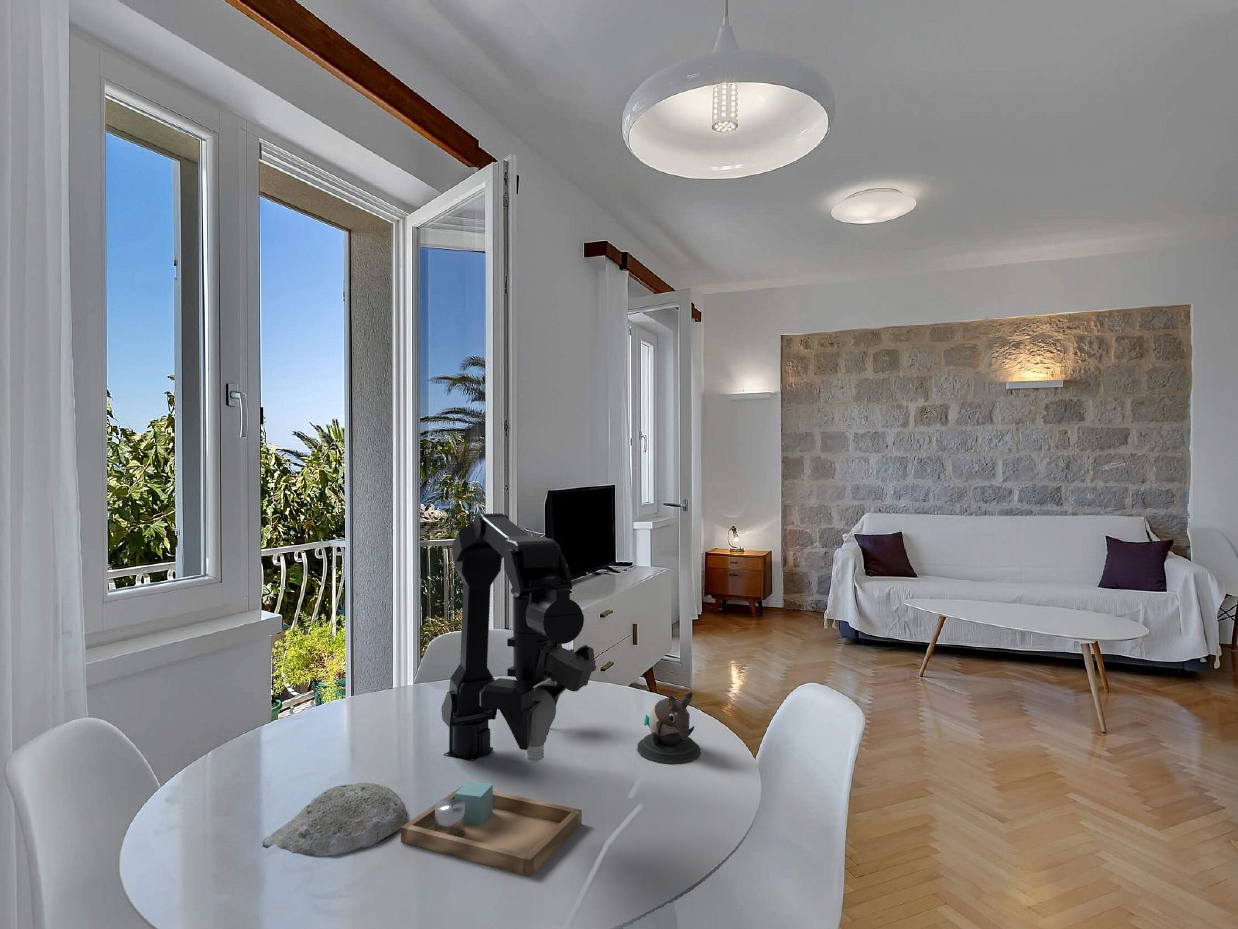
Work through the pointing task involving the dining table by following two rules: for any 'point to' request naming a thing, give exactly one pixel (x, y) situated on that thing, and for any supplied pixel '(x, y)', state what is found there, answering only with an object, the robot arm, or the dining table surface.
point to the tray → (501, 833)
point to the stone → (342, 821)
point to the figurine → (669, 733)
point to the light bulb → (540, 725)
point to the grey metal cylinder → (450, 817)
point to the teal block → (476, 801)
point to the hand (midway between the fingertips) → (534, 742)
